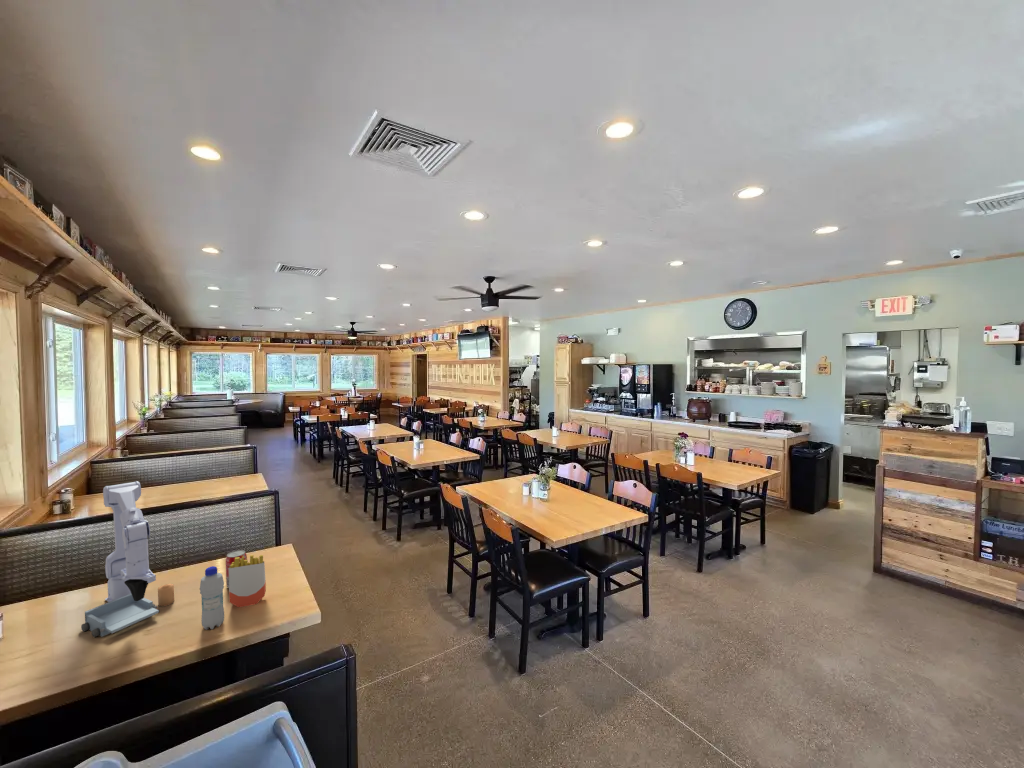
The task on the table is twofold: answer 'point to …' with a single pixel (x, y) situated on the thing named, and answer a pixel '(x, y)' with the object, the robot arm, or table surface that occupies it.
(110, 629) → the panel
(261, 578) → the french fries container
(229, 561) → the soda can
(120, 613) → the box
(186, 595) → the table surface
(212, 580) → the bottle
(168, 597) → the tan hollow cylinder
